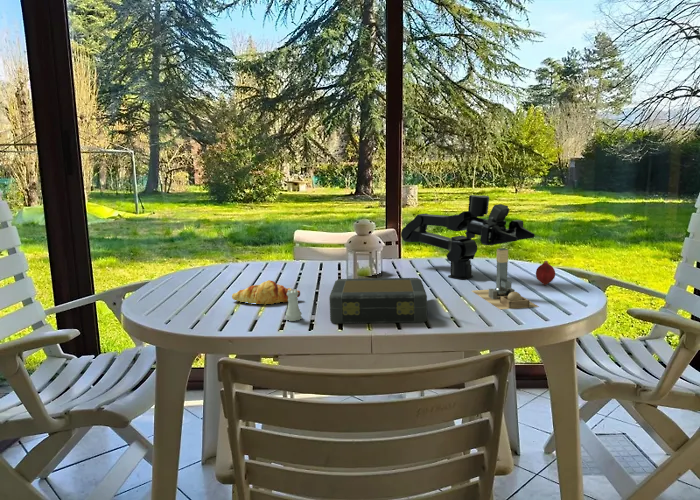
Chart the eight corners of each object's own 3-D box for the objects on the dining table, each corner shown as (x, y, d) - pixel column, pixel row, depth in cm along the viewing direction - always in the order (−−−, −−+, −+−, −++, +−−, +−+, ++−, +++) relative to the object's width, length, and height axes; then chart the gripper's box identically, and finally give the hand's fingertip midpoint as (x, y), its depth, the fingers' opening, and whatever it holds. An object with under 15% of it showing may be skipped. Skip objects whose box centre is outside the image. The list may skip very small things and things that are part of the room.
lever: (494, 295, 139) (495, 248, 137) (504, 294, 139) (505, 248, 137) (502, 300, 134) (503, 251, 131) (513, 299, 134) (514, 251, 132)
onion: (556, 287, 153) (557, 262, 152) (537, 286, 154) (538, 262, 153) (552, 283, 159) (553, 259, 157) (534, 282, 160) (534, 259, 158)
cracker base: (471, 295, 146) (471, 283, 146) (505, 293, 148) (505, 281, 147) (499, 314, 127) (500, 300, 126) (539, 311, 128) (539, 298, 128)
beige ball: (504, 304, 130) (505, 292, 130) (511, 302, 133) (511, 289, 132) (517, 307, 128) (517, 294, 127) (523, 304, 130) (524, 291, 130)
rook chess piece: (285, 317, 131) (284, 288, 129) (302, 316, 131) (301, 287, 130) (285, 322, 126) (283, 292, 125) (302, 321, 126) (300, 291, 125)
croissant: (230, 315, 145) (224, 296, 140) (237, 293, 153) (231, 274, 148) (300, 313, 144) (296, 293, 139) (303, 290, 152) (300, 271, 147)
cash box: (420, 302, 142) (420, 276, 141) (427, 324, 122) (427, 294, 121) (336, 303, 144) (335, 277, 143) (329, 324, 124) (328, 295, 123)
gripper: (468, 205, 152) (511, 214, 140) (504, 201, 163) (546, 209, 151) (464, 240, 155) (506, 251, 143) (500, 233, 166) (541, 243, 154)
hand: (525, 237), depth 148 cm, fingers open, 9 cm apart
